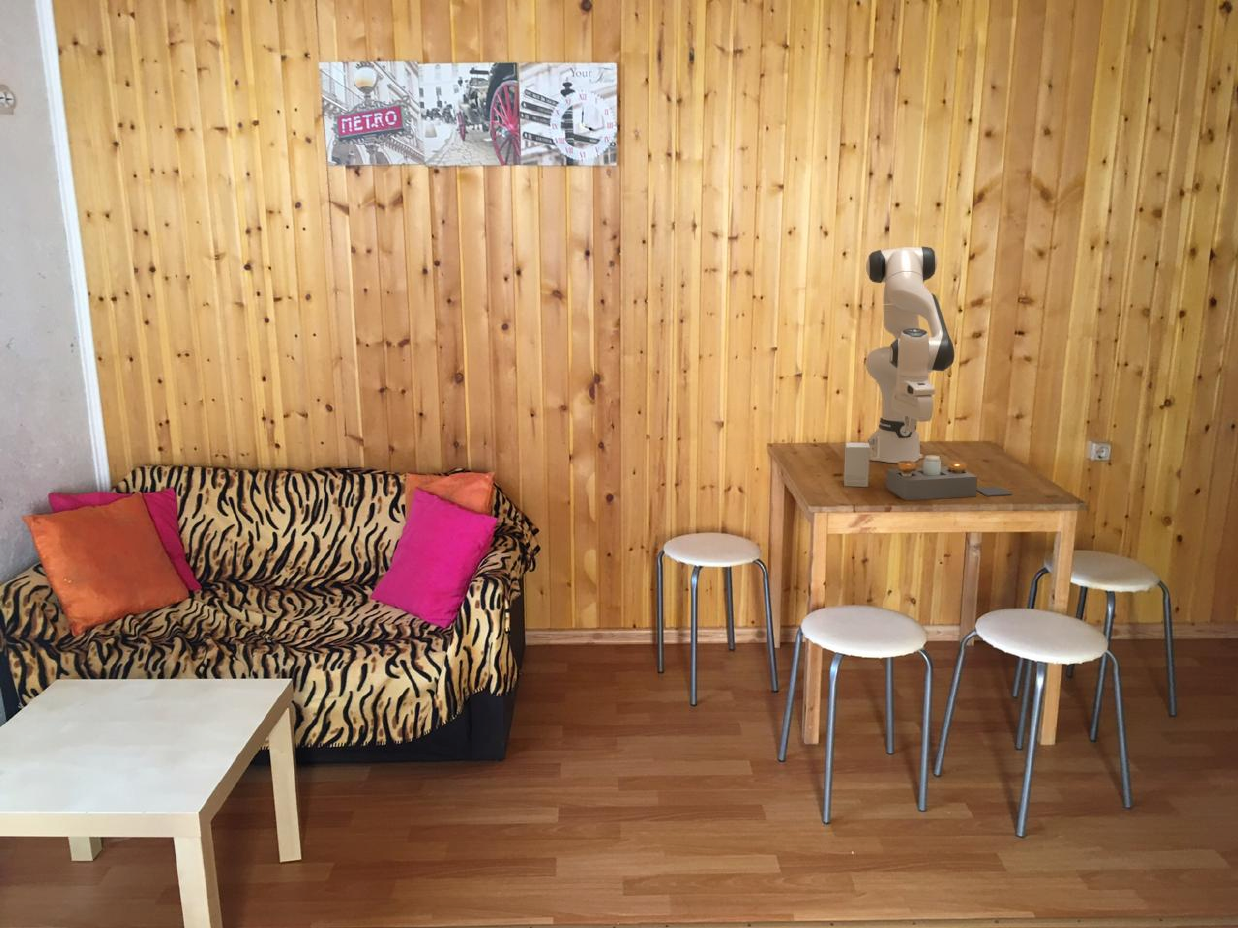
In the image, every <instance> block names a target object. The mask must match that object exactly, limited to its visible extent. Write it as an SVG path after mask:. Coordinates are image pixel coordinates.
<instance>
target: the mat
mask: <svg viewBox="0 0 1238 928" xmlns="http://www.w3.org/2000/svg"><path fill="white" fill-rule="evenodd" d="M977 492H978V493H980V494H981V495H984V496H985V497H997V496H999V497H1000V496H1012V495H1013V493H1012V492H1010V491H1008V490H1006V489H1003V488H1001V487H1000V486H991V487H977V490H976V493H977Z"/></svg>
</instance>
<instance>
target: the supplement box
mask: <svg viewBox="0 0 1238 928" xmlns="http://www.w3.org/2000/svg"><path fill="white" fill-rule="evenodd" d="M869 458H870V445H869V443H868V442H856V441H855V442H845V448H844V467H843V468H844V472H843V485H844V487H854V488H857V487H858V488H868V487H869V478H870V477H869V476H870V474H869V473H870V459H869Z"/></svg>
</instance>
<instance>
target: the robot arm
mask: <svg viewBox="0 0 1238 928" xmlns="http://www.w3.org/2000/svg"><path fill="white" fill-rule="evenodd" d="M935 252H936V251H935V250H934V249H933V248H932V247H930V246H929V247H928V246H921V247H919V246H917V247H916V246H901V247H897V248H890V249H884V250H881V249H879V250H876V251H872V252H871V253H870V254H869V256H868V259H867V261H866V265H865V271H866V274H867V277H869V278H868V280H870V281H871V282H872V283H875V284H882V283H884V288H883V303H882V304H883V306H882V307H883V328H884V329H885V330H886V331H887V332H888V333H889V334H892V336H893V337H894V339H895V340H894V341H892V342H891V344H890V345H889V346H882V347H879V348H877V349H873V350H872V351H870V352H869V354H868V355H867V357H866V360H865V367H866V370H867V372H868V375H869V376H870V377H871V378H873V379H874V380H875V382H876V383H877V385H878V386H879V390H880V392H881V400H882V401H881V404H882V405H881V406H882V407H881V410H882V411H881V417H879V423H878V428H877V430H875V432H874V433H872V435H870V437H869V438H868V439H867V443H869V446H870V458H869V461H872V462H883V463H888V464H889V463H890V464H898V462H900V461H912V462H915V463H917V462H918V461H919V460H921V459H924V454H922V453H920V450H921V449H920V435H919V433H918V432H917V426H918V425H917V424H918V422H920V423H921V422H924V423H925V422H930V421H931V420H932V417H933V411H934V396H933V395H935V394H936V388H935V386H934V385H933V384H932V383H931V382H930V379H929V374H930V373H932V372H934V371H935V372H944V371H946V370H947V369H948V368H950V367H951V365H953V364H954V361H955V353H956V351H955V347H954V345H953V342H952V340H951V337H950V335H949V332H948V328H947V326H946V322H945V319H944V315H943V312H942V309H941V305H940V303H939V301H938V298H937V296H936V294H934V293H932V292H930V291H929V289H928V288H927V287H926V285H925V281H927V280H929V279H931V278H932V277H933V276H934V275H935V273H936V270H937V267H938V257H937V255H936V253H935ZM919 316H920V317H922V318H924V319H925V320H926V321H927V323H928V326H929V327H928V328H929V331H930V334H931V337H929V332H928V331H927V330H925V329H923V328H920V324H919V323H920V322H919Z"/></svg>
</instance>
